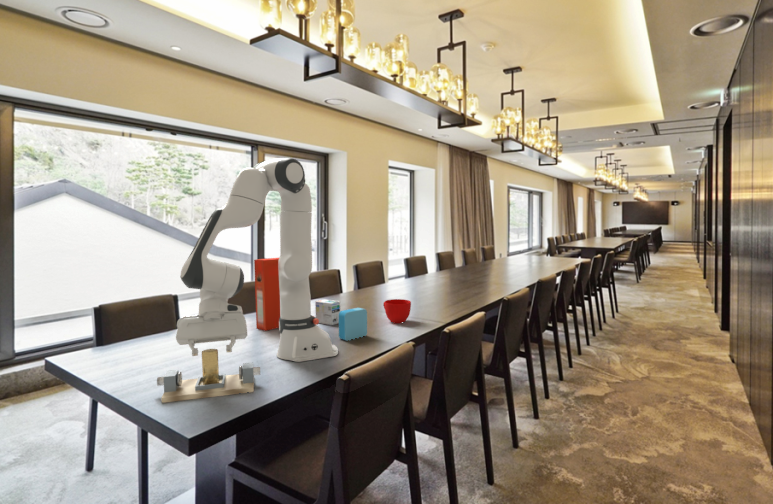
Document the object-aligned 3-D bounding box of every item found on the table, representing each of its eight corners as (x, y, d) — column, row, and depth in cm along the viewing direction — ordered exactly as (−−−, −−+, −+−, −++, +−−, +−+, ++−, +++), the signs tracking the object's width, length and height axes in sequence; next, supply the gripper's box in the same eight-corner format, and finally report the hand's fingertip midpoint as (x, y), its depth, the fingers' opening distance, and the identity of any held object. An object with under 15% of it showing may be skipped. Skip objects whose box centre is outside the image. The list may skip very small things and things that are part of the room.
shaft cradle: (260, 376, 133) (259, 358, 133) (260, 391, 122) (260, 371, 121) (163, 387, 125) (162, 367, 124) (153, 403, 113) (152, 382, 113)
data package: (360, 334, 182) (360, 307, 182) (367, 336, 179) (367, 308, 178) (338, 339, 174) (338, 311, 173) (345, 341, 171) (344, 312, 170)
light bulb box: (341, 322, 203) (340, 300, 202) (332, 325, 197) (331, 303, 196) (324, 320, 208) (323, 298, 207) (315, 322, 203) (314, 300, 202)
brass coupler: (219, 380, 126) (218, 348, 125) (218, 386, 122) (217, 352, 121) (204, 382, 125) (202, 349, 124) (202, 387, 120) (200, 354, 120)
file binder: (256, 328, 193) (254, 259, 190) (287, 321, 206) (285, 256, 203) (266, 331, 187) (264, 260, 185) (297, 323, 200) (296, 257, 198)
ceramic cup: (393, 316, 216) (393, 297, 215) (416, 322, 203) (416, 302, 202) (374, 320, 208) (374, 300, 207) (396, 326, 195) (396, 305, 194)
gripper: (175, 311, 127) (171, 352, 119) (246, 305, 133) (247, 344, 125) (179, 322, 132) (175, 362, 123) (247, 316, 138) (248, 354, 129)
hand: (212, 353), depth 124 cm, fingers open, 8 cm apart
